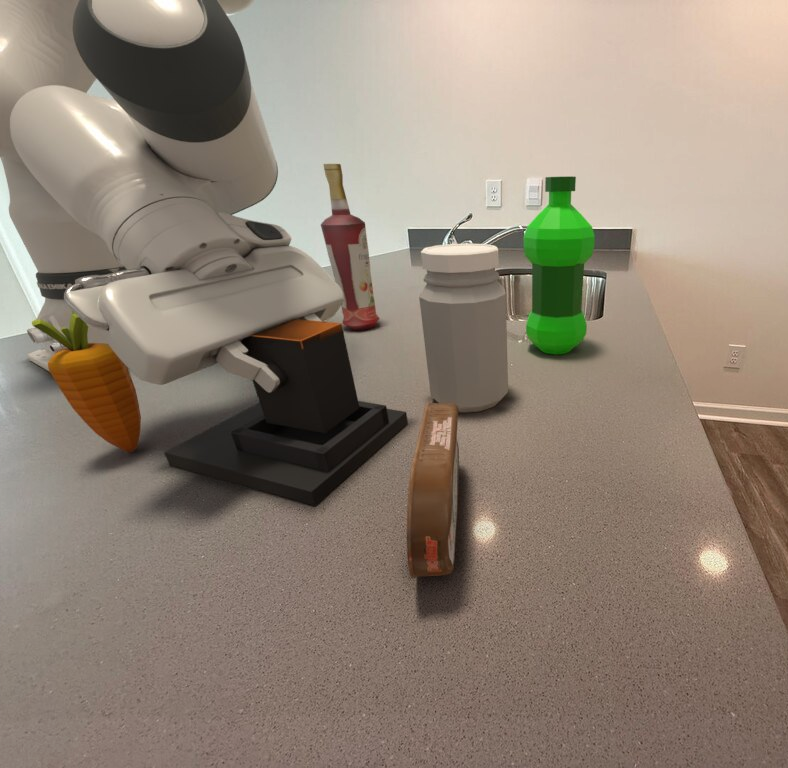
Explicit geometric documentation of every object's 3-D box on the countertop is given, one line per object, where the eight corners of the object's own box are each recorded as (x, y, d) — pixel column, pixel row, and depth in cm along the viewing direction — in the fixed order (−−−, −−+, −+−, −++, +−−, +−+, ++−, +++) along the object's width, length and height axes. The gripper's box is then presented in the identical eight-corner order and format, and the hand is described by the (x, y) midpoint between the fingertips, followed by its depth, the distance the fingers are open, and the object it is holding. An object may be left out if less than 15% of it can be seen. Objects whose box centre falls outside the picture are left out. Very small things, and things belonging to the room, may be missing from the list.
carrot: (110, 471, 39) (26, 318, 32) (92, 456, 41) (10, 311, 35) (171, 446, 42) (106, 304, 36) (151, 433, 45) (87, 298, 38)
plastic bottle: (548, 365, 60) (553, 175, 49) (512, 345, 68) (509, 178, 57) (600, 352, 64) (614, 175, 54) (560, 334, 73) (566, 178, 62)
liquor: (374, 332, 76) (345, 162, 64) (336, 333, 76) (299, 163, 64) (386, 321, 83) (361, 164, 70) (350, 321, 83) (320, 166, 71)
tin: (432, 463, 39) (422, 384, 35) (465, 461, 39) (459, 382, 35) (410, 609, 25) (390, 504, 22) (461, 605, 25) (450, 500, 22)
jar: (425, 387, 54) (408, 245, 46) (495, 376, 57) (489, 240, 49) (439, 423, 46) (420, 257, 38) (520, 407, 49) (518, 250, 41)
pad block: (266, 422, 39) (236, 333, 35) (305, 399, 43) (282, 317, 39) (325, 433, 37) (300, 340, 33) (360, 408, 41) (341, 322, 37)
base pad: (169, 465, 39) (154, 434, 38) (285, 400, 51) (278, 375, 50) (315, 505, 34) (305, 471, 32) (408, 423, 46) (403, 395, 44)
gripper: (48, 250, 26) (211, 404, 27) (294, 224, 44) (386, 319, 45) (42, 313, 29) (188, 448, 31) (273, 266, 47) (360, 353, 48)
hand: (307, 371), depth 38 cm, fingers closed on pad block, 5 cm apart
